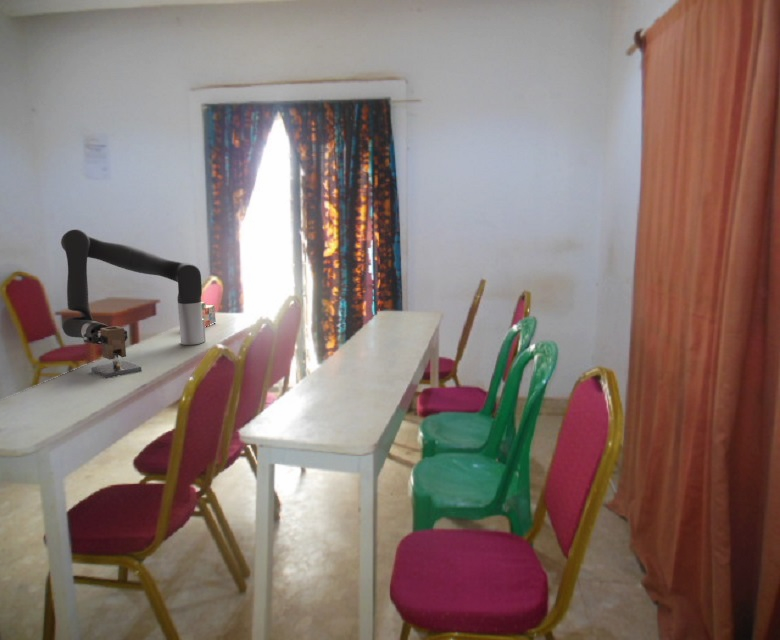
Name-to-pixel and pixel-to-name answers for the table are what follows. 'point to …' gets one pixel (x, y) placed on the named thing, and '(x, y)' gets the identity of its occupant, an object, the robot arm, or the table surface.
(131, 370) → the base plate
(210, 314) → the stack of blocks
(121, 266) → the robot arm
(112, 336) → the sleeve
